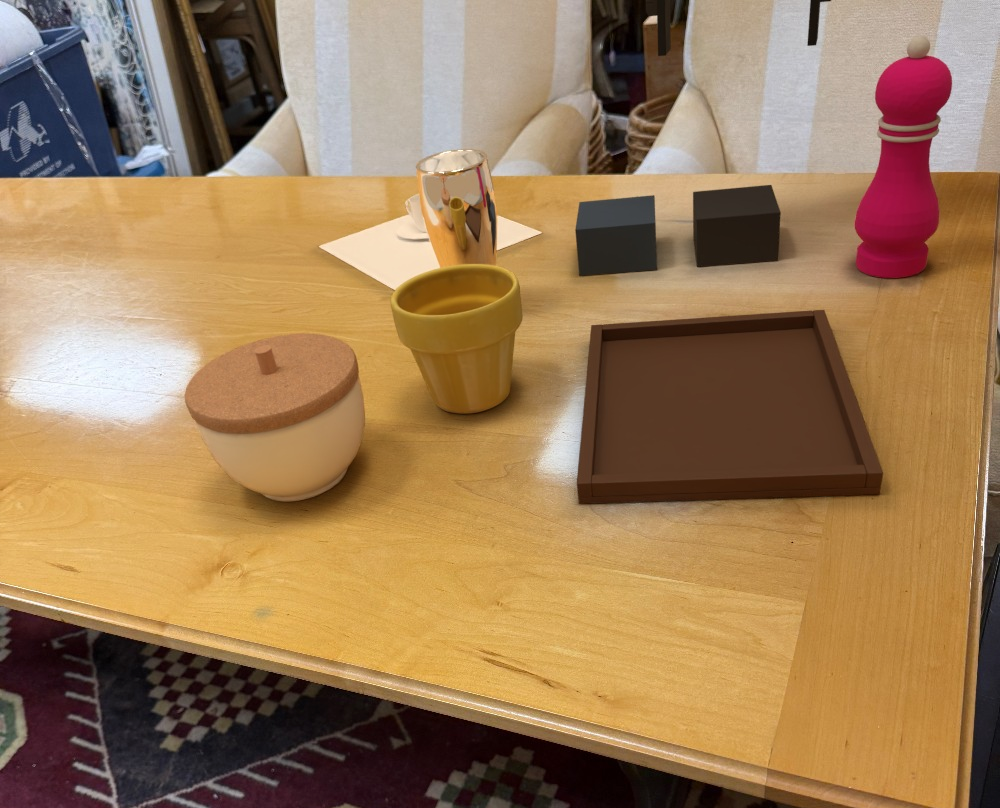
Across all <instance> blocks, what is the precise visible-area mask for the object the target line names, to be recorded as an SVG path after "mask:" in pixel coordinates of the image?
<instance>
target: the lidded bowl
mask: <svg viewBox="0 0 1000 808" xmlns="http://www.w3.org/2000/svg"><path fill="white" fill-rule="evenodd" d="M359 373H360V370H359V362H358V359H357V355H356V353H355V351H354V349H353V348H352V347H351V346H350V345H349V344H348V343H347V342H345V341H343V340H342V339H339V338H337V337H334V336H330V335H327V334H319V333H291V334H290V333H289V334H282V335H275V336H271V337H266V338H263V339H258V340H254V341H252V342H249V343H246V344H243V345H240V346H238V347H236V348H233V349H230V350H229V351H226V352H224V353H223V354H220V355H219V356H217V357H215V358H214V359H212V360H210V361H209V362H208V363H206V364H205V365H204V366H203V367H201V368H200V369H199V370H198V371H197V372H196V373H195V374H194V375H193V376H192V377H191V379H190V380H189V381H188V383H187V386H186V388H185V391H184V402H185V405H186V408H187V411H188V413H189V414H190V416H191V418H192V420H194V422H195V423H194V424H196V425H195V426H196V428H197V431H198V432H199V434H200V437H201V439H202V442H203V444H204V445H205V447H206V448H207V450H208V452H209V454H210V455H211V457H212V458H213V461H215V462H216V464H217V466H218V467H219V468H220V469H221V470H222V471H223V472H224V473H225V474H226V475H227V476H228V477H229V478H231V479H232V480H233V481H234V482H236V483H237V484H238V485H240V486H242V487H244V488H246V489H248V490H250V491H253V492H255V493H258V494H261V495H262V496H263V497H265V498H267V499H269V500H272V501H276V502H298V501H299V502H300V501H303V500H308V499H311V498H314V497H316V496H319V495H322V494H324V493H325V492H327V491H329V490H331V489H332V488H334V487H335V486H336V485H338V484H339V483H340V482H341V481H342V479H343V478H344V477H345V475H346V473H347V471H348V467H349V466H350V465H351V464H352V462H353V461H354V459H355V458H356V456H357V454H358V452H359V450H360V449H361V445H362V442H363V438H364V433H365V427H366V409H365V408H366V407H365V400H364V392H363V388H362V387H363V386H362V382H361V378H360V374H359Z"/></svg>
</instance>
